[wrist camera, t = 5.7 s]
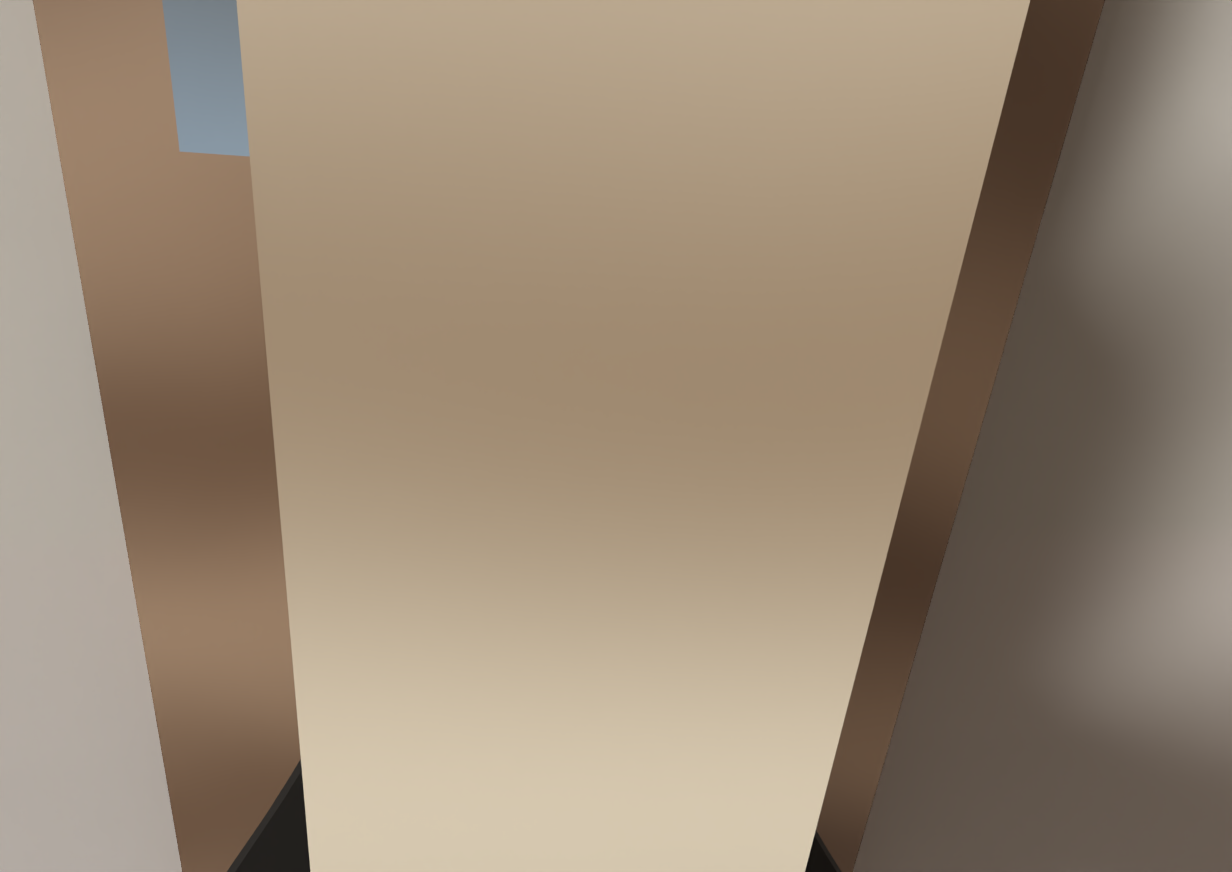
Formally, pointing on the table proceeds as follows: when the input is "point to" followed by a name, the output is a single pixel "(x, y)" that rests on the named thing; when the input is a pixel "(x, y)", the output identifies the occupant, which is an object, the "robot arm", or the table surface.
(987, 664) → the table surface
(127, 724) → the table surface
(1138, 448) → the table surface
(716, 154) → the slat
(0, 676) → the table surface
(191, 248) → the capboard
